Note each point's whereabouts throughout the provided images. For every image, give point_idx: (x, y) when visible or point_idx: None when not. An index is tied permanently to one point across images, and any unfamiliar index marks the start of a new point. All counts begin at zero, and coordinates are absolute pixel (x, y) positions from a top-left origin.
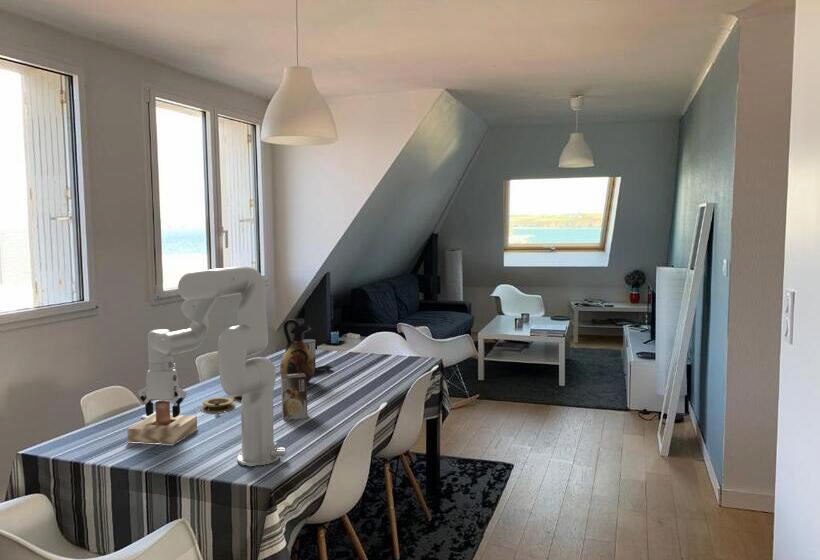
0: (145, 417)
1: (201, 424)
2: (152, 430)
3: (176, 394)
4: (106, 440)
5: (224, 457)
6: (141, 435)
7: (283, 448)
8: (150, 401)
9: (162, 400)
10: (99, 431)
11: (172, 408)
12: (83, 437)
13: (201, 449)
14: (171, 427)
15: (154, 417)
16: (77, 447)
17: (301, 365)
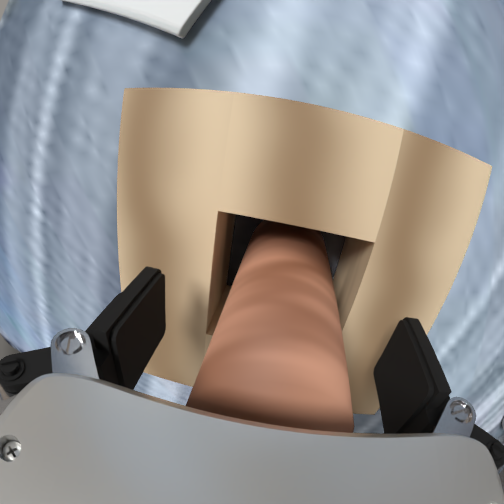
0: (74, 2)
1: (437, 56)
2: None
3: (464, 452)
4: (69, 280)
5: (491, 406)
6: None
7: None
8: (102, 375)
9: (233, 386)
10: (3, 185)
11: (384, 426)
12: (4, 245)
13: (457, 377)
14: (364, 379)
15: (162, 182)
16: (47, 327)
17: None
